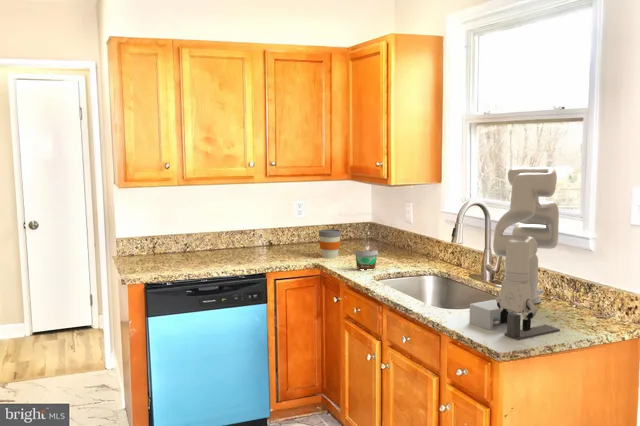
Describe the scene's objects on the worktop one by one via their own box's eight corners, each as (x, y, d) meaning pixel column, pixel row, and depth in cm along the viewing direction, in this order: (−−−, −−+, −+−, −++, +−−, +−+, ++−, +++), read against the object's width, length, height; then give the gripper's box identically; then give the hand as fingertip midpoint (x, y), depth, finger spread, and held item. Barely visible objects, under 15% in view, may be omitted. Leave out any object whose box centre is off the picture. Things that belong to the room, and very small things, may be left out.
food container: (355, 271, 314) (355, 251, 313) (354, 268, 320) (354, 249, 319) (379, 271, 315) (379, 251, 313) (377, 268, 321) (378, 249, 320)
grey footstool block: (495, 317, 232) (496, 299, 232) (516, 324, 224) (516, 305, 223) (469, 322, 226) (469, 303, 225) (489, 330, 217) (490, 310, 217)
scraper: (516, 341, 206) (517, 317, 205) (503, 336, 212) (504, 313, 211) (559, 331, 216) (560, 309, 215) (545, 327, 221) (546, 305, 220)
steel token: (492, 321, 228) (492, 316, 228) (502, 325, 224) (503, 319, 224) (482, 323, 226) (482, 318, 226) (492, 327, 222) (492, 321, 221)
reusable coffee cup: (322, 259, 345) (322, 232, 343) (316, 255, 357) (316, 229, 356) (343, 258, 349) (343, 231, 347) (337, 254, 361) (337, 228, 359)
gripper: (489, 273, 213) (487, 322, 215) (529, 283, 198) (527, 335, 200) (505, 270, 216) (503, 318, 218) (545, 280, 201) (543, 331, 203)
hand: (515, 326), depth 209 cm, fingers open, 9 cm apart
